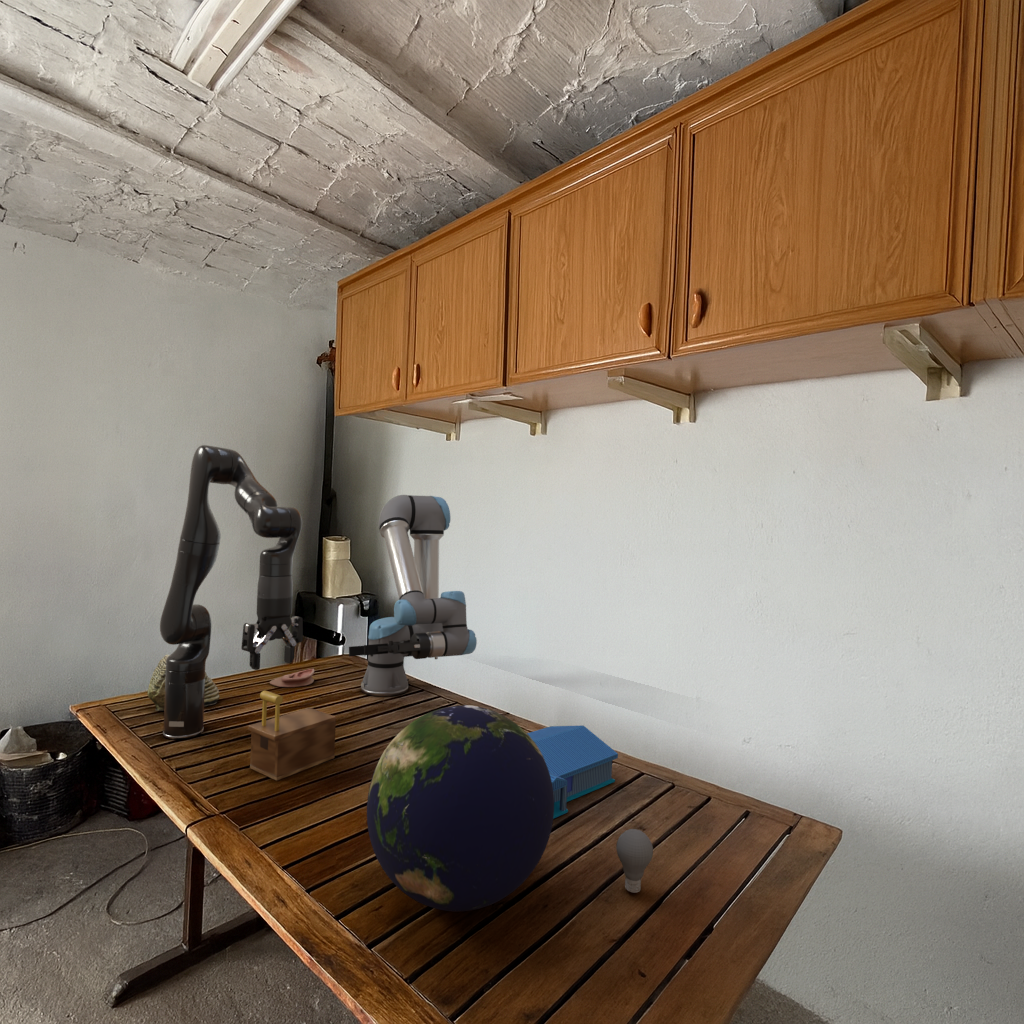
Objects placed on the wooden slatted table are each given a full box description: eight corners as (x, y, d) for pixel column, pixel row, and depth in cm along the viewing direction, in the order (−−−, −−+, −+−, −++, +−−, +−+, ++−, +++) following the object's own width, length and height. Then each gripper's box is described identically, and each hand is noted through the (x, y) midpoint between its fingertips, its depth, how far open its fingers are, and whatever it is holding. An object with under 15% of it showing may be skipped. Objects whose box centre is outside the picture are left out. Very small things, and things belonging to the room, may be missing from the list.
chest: (276, 780, 140) (278, 740, 140) (249, 768, 146) (251, 729, 146) (334, 758, 154) (335, 720, 153) (307, 747, 159) (309, 711, 159)
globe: (322, 922, 94) (330, 722, 94) (423, 829, 122) (430, 674, 122) (507, 988, 83) (517, 762, 83) (572, 869, 111) (580, 699, 110)
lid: (274, 740, 139) (276, 700, 139) (247, 729, 145) (249, 690, 145) (335, 720, 153) (337, 683, 153) (309, 711, 159) (310, 675, 159)
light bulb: (610, 879, 108) (613, 822, 108) (644, 879, 109) (647, 822, 109) (619, 902, 102) (622, 840, 102) (655, 901, 103) (658, 840, 103)
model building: (497, 843, 118) (499, 790, 118) (422, 794, 136) (424, 748, 136) (626, 786, 145) (628, 743, 144) (549, 751, 163) (551, 713, 163)
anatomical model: (264, 673, 208) (283, 664, 219) (264, 685, 208) (283, 676, 219) (301, 677, 205) (319, 668, 216) (301, 689, 205) (318, 679, 216)
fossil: (144, 707, 182) (145, 655, 182) (212, 696, 194) (213, 647, 194) (151, 716, 175) (153, 662, 175) (221, 703, 188) (223, 653, 188)
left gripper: (256, 600, 136) (254, 675, 136) (311, 593, 147) (309, 662, 148) (236, 595, 140) (233, 668, 140) (291, 589, 152) (288, 657, 152)
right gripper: (445, 657, 177) (372, 664, 166) (411, 658, 198) (343, 664, 187) (443, 630, 179) (371, 635, 168) (409, 634, 199) (343, 639, 188)
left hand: (272, 665), depth 144 cm, fingers open, 8 cm apart
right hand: (356, 650), depth 177 cm, fingers open, 13 cm apart
